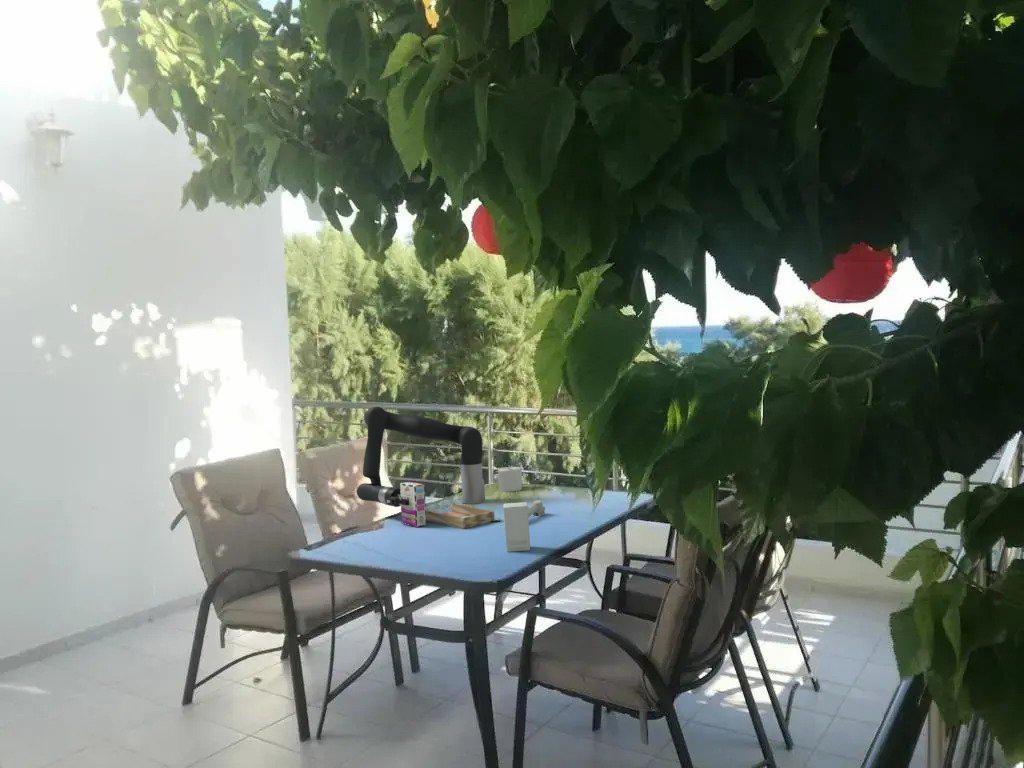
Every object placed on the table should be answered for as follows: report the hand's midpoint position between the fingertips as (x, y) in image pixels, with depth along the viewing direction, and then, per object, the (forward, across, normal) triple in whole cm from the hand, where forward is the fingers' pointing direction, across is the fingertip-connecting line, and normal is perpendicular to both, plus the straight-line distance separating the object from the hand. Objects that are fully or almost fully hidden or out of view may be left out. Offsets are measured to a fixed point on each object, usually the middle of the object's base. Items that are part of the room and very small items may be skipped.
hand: (415, 501), depth 323 cm
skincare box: (+58, 0, +10) cm, 59 cm away
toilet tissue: (-23, +71, +10) cm, 75 cm away
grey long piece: (+30, +32, +10) cm, 45 cm away
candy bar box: (-2, 0, +10) cm, 10 cm away
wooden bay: (+7, +15, +10) cm, 19 cm away
